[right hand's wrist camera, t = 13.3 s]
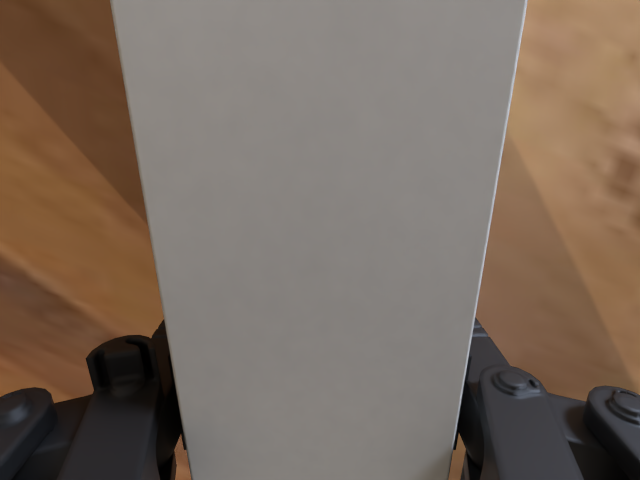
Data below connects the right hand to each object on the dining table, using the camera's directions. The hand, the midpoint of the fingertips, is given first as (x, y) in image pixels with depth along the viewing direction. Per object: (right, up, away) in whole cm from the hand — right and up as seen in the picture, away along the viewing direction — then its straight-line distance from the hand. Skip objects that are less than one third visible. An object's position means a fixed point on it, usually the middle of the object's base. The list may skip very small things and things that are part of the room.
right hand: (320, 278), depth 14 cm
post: (0, +23, -8) cm, 25 cm away
